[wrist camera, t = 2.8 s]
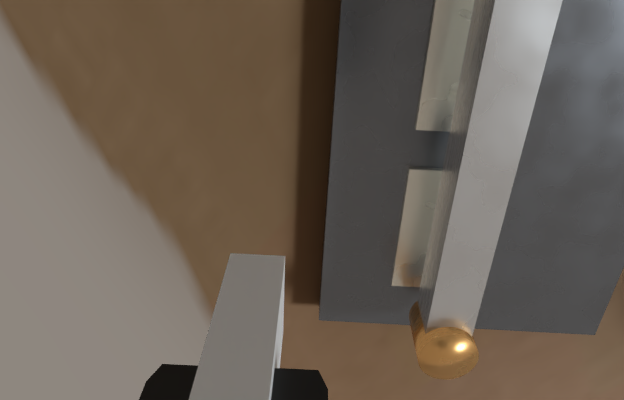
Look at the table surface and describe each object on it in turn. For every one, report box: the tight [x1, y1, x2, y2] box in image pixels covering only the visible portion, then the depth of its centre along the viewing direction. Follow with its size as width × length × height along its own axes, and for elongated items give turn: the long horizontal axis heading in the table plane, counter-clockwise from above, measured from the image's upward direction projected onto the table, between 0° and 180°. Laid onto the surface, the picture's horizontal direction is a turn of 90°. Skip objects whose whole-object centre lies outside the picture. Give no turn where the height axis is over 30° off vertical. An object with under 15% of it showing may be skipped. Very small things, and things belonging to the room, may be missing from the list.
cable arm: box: [409, 0, 563, 379], centre depth 20 cm, size 21×3×3 cm, turn 177°
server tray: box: [319, 0, 624, 335], centre depth 24 cm, size 22×16×3 cm
